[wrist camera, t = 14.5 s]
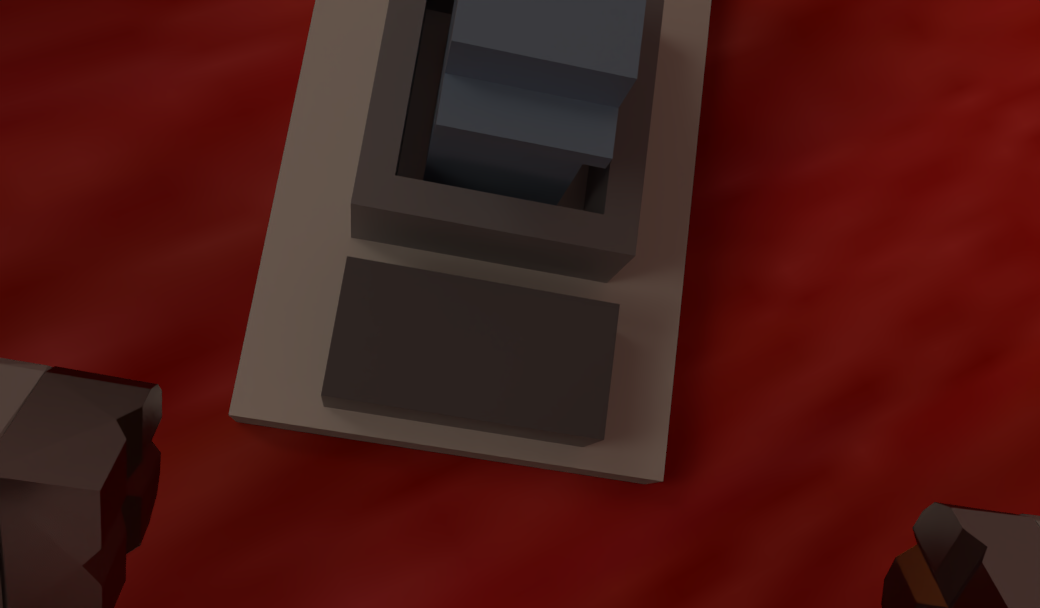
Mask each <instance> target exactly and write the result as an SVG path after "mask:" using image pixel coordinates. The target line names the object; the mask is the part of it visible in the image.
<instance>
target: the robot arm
mask: <svg viewBox="0 0 1040 608" xmlns="http://www.w3.org/2000/svg"><path fill="white" fill-rule="evenodd" d="M161 418H162V391H161V389H160V387H159V386H158V384H155V383H149V382H143V381H137V380H131V379H126V378H120V377H114V376H108V375H103V374H97V373H91V372H85V371H80V370H74V369H68V368H62V367H56V366H54V367H50V366H47V365H41V364H35V363H29V362H23V361H17V360H11V359H5V358H0V608H114V607H115V604H116V602H117V600H118V597H119V595H120V593H121V590H122V588H123V586H124V583H125V581H126V554H127V553H129V552H130V551H132V550H134V549H135V548H137V547H138V546H140V545H141V542H142V540H143V537H144V535H145V532H146V530H147V527H148V525H149V522H150V518H151V514H152V511H153V507H154V503H155V499H156V496H157V490H158V483H159V475H160V461H161V452H160V451H159V449H158V448H157V447H156V446H155V444H154V443H153V442H152V438H153V436H154V434H155V432H156V430H157V427H158V425H159V423H160V421H161ZM913 531H914V535H915V538H916V542H917V545H915V546H914V547H912V548H910V549H909V550H907V551H905V552H904V553H902V554H900V555H899V556H897V557H896V558H895V560H894V561H893V563H892V565H891V567H890V569H889V571H888V573H887V575H886V577H885V579H884V586H883V594H882V603H881V605H882V608H1040V516H1037V515H1029V514H1019V515H1018V514H1013V513H1006V512H999V511H992V510H985V509H978V508H971V507H965V506H958V505H951V504H944V503H937V502H934V503H933V504H932V505H930V506H929V507H928V508H926V509H925V510H924V511H922V513H921V515H920V516H919V518H918V520H917V521H916V523H915V525H914V526H913Z"/></svg>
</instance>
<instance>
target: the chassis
mask: <svg viewBox="0 0 1040 608" xmlns="http://www.w3.org/2000/svg"><path fill="white" fill-rule="evenodd" d="M453 5H454V0H316V1H315V6H314V10H313V15H312V20H311V25H310V29H309V34H308V39H307V44H306V48H305V53H304V58H303V63H302V67H301V72H300V77H299V82H298V86H297V91H296V96H295V101H294V106H293V110H292V115H291V120H290V125H289V129H288V134H287V139H286V144H285V148H284V153H283V158H282V163H281V167H280V172H279V177H278V182H277V186H276V191H275V196H274V201H273V205H272V210H271V215H270V220H269V225H268V229H267V234H266V239H265V244H264V248H263V253H262V258H261V263H260V267H259V272H258V277H257V282H256V286H255V291H254V296H253V301H252V305H251V310H250V315H249V320H248V324H247V329H246V334H245V339H244V343H243V348H242V353H241V358H240V363H239V367H238V372H237V377H236V382H235V386H234V391H233V396H232V401H231V405H230V410H229V416H230V417H232V418H233V419H234V420H235V421H236V422H241V423H248V424H254V425H261V426H267V427H274V428H280V429H287V430H293V431H300V432H307V433H313V434H320V435H326V436H333V437H339V438H346V439H352V440H359V441H365V442H372V443H379V444H385V445H392V446H398V447H405V448H411V449H418V450H424V451H431V452H437V453H444V454H451V455H457V456H464V457H470V458H477V459H483V460H490V461H496V462H503V463H510V464H516V465H523V466H529V467H536V468H542V469H549V470H555V471H562V472H568V473H575V474H582V475H588V476H595V477H601V478H608V479H614V480H621V481H627V482H634V483H640V484H649V483H656V482H663V479H664V469H665V459H666V449H667V439H668V429H669V419H670V409H671V399H672V389H673V379H674V369H675V359H676V349H677V339H678V329H679V319H680V309H681V299H682V289H683V279H684V269H685V259H686V249H687V239H688V229H689V219H690V209H691V199H692V189H693V179H694V169H695V160H696V150H697V140H698V130H699V120H700V110H701V100H702V90H703V80H704V70H705V60H706V50H707V40H708V30H709V20H710V10H711V0H646V7H645V16H644V24H643V32H642V41H641V49H640V58H639V66H638V75H637V80H636V81H635V83H634V84H633V86H632V88H631V89H630V91H629V92H628V94H627V95H626V97H625V99H624V100H623V102H622V103H621V105H620V107H619V109H618V117H617V125H616V133H615V142H614V150H613V158H612V160H611V161H610V163H609V164H608V166H607V167H606V169H605V168H600V167H595V166H590V165H584V164H583V165H582V166H581V168H580V169H579V171H578V173H577V174H576V176H575V177H574V179H573V180H572V182H571V184H570V185H569V187H568V188H567V190H566V191H565V193H564V195H563V196H562V198H561V199H560V201H559V203H558V204H557V206H556V205H550V204H545V203H540V202H534V201H529V200H524V199H519V198H513V197H508V196H503V195H497V194H492V193H487V192H481V191H476V190H471V189H465V188H460V187H455V186H450V185H444V184H439V183H434V182H428V181H423V176H424V170H425V164H426V158H427V153H428V147H429V141H430V135H431V129H432V123H433V118H434V112H435V106H436V100H437V94H438V88H439V83H440V77H441V71H442V65H443V59H444V53H445V48H446V42H447V36H448V31H449V26H450V21H451V16H452V10H453Z"/></svg>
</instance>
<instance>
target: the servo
mask: <svg viewBox="0 0 1040 608" xmlns="http://www.w3.org/2000/svg"><path fill="white" fill-rule="evenodd" d="M645 7H646V0H454V5H453V10H452V16H451V21H450V26H449V31H448V36H447V42H446V48H445V53H444V59H443V65H442V71H441V77H440V83H439V88H438V94H437V100H436V106H435V112H434V118H433V123H432V129H431V135H430V141H429V147H428V153H427V158H426V164H425V170H424V176H423V181H428V182H434V183H439V184H444V185H450V186H455V187H460V188H465V189H471V190H476V191H481V192H487V193H492V194H497V195H503V196H508V197H513V198H519V199H524V200H529V201H534V202H540V203H545V204H550V205H556V206H557V204H558V203H559V201H560V199H561V198H562V196H563V195H564V193H565V191H566V190H567V188H568V187H569V185H570V184H571V182H572V180H573V179H574V177H575V176H576V174H577V173H578V171H579V169H580V168H581V166H582V165H583V164H584V165H590V166H595V167H600V168H605V169H606V167H607V166H608V164H609V163H610V161H611V160H612V158H613V150H614V142H615V133H616V125H617V117H618V109H619V107H620V105H621V103H622V102H623V100H624V99H625V97H626V95H627V94H628V92H629V91H630V89H631V88H632V86H633V84H634V83H635V81H636V80H637V75H638V66H639V58H640V49H641V41H642V32H643V24H644V16H645Z"/></svg>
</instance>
